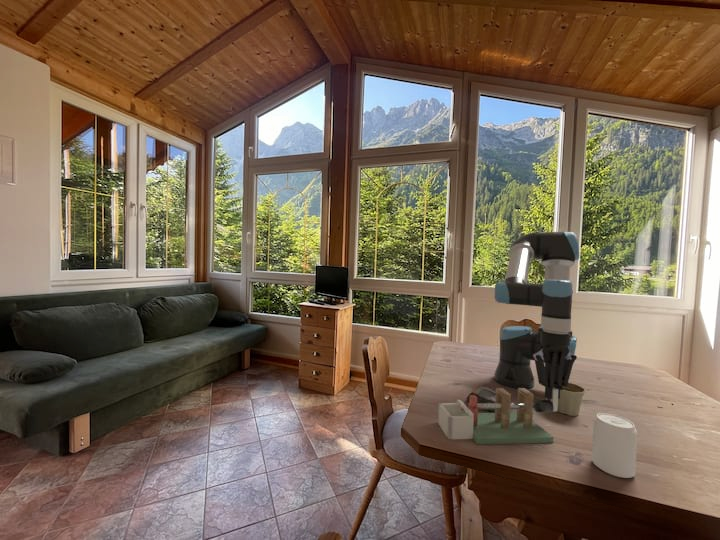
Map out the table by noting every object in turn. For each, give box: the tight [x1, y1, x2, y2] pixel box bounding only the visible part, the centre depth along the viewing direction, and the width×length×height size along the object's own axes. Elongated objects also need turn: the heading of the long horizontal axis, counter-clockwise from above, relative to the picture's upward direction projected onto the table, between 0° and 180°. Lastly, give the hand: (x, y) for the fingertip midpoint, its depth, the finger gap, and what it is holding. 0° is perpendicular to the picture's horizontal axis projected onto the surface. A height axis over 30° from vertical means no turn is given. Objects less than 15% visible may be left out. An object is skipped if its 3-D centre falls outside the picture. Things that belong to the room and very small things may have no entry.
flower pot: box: [557, 381, 587, 417], centre depth 103 cm, size 9×9×9 cm
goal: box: [437, 399, 474, 440], centre depth 89 cm, size 7×9×7 cm
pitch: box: [461, 411, 554, 445], centre depth 91 cm, size 22×14×2 cm, turn 95°
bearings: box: [494, 387, 534, 429], centre depth 91 cm, size 9×4×10 cm, turn 95°
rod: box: [467, 395, 554, 427], centre depth 91 cm, size 25×4×8 cm, turn 95°
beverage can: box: [591, 412, 638, 479], centre depth 74 cm, size 8×8×12 cm
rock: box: [465, 385, 496, 413], centre depth 106 cm, size 14×11×5 cm
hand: (551, 409), depth 92 cm, fingers closed
